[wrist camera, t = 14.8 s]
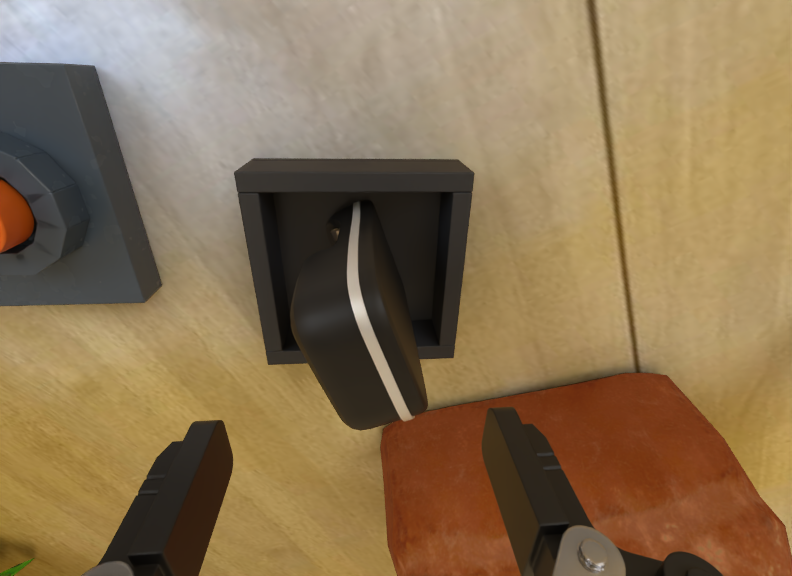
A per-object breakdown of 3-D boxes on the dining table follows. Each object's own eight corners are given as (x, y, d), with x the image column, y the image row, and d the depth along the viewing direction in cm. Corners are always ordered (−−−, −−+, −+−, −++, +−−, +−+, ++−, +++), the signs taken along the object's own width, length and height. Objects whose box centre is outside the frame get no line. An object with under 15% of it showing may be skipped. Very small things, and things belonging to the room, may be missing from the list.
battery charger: (308, 214, 22) (263, 324, 12) (370, 192, 22) (377, 286, 12) (352, 310, 25) (345, 459, 15) (406, 292, 25) (436, 433, 15)
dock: (252, 158, 21) (233, 171, 18) (458, 159, 22) (475, 172, 19) (278, 331, 26) (268, 365, 23) (443, 326, 27) (453, 358, 24)
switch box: (-111, 60, 18) (-228, 55, 14) (95, 65, 18) (32, 61, 15) (9, 288, 23) (-54, 325, 20) (162, 285, 24) (128, 320, 21)
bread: (369, 414, 31) (374, 656, 18) (668, 355, 30) (898, 560, 17) (404, 531, 39) (426, 755, 26) (641, 486, 39) (784, 691, 26)
